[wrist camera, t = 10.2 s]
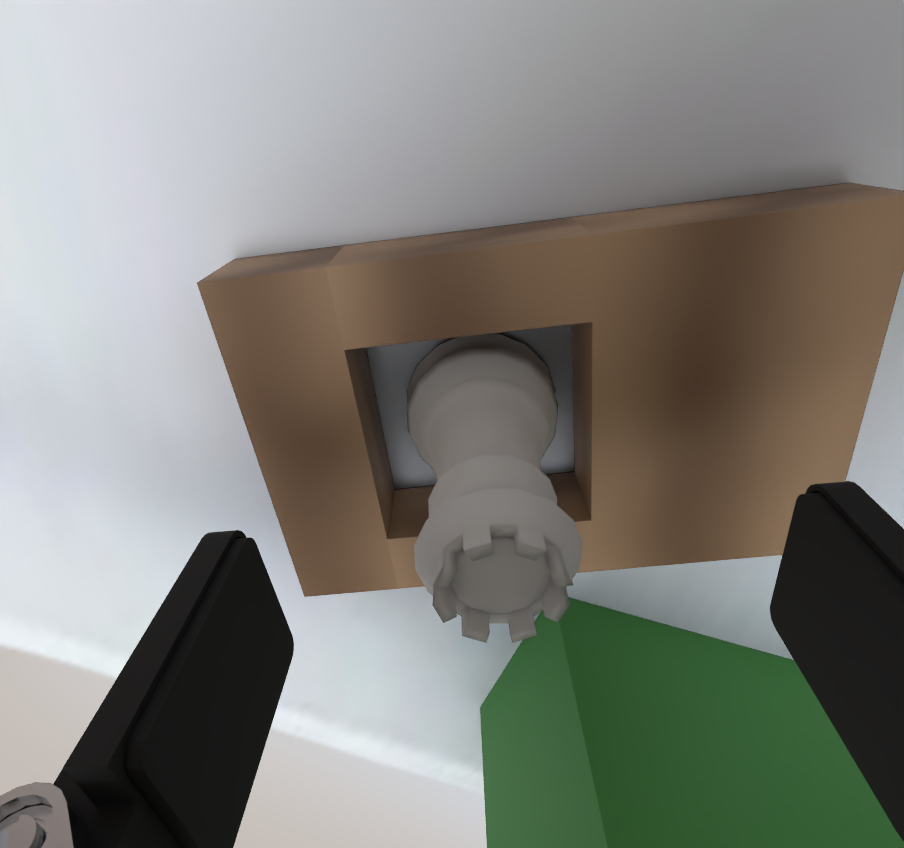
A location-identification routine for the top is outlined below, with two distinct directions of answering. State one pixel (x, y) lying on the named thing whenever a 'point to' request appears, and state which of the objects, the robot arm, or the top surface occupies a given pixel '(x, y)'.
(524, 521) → the rook chess piece
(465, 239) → the socket board
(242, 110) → the top surface
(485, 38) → the top surface
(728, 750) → the hardback book
